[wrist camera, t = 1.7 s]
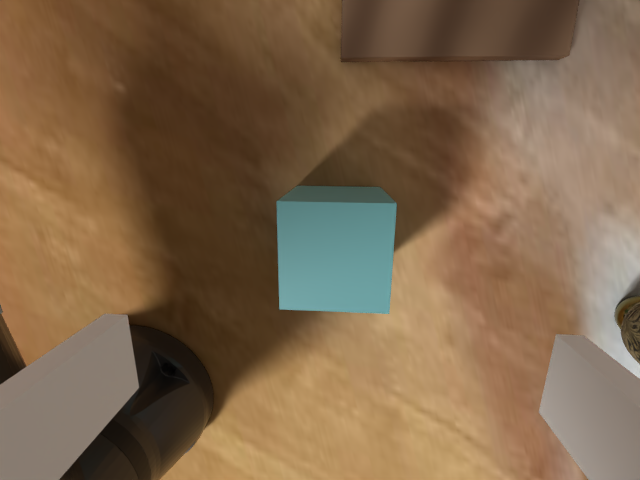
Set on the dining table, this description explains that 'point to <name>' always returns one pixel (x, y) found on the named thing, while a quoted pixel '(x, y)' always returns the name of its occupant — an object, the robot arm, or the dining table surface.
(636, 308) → the cup
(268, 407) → the dining table surface
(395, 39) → the peg base
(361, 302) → the teal toy cube
